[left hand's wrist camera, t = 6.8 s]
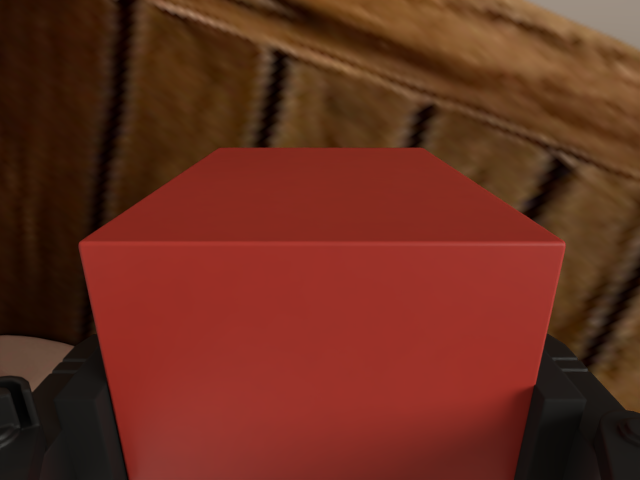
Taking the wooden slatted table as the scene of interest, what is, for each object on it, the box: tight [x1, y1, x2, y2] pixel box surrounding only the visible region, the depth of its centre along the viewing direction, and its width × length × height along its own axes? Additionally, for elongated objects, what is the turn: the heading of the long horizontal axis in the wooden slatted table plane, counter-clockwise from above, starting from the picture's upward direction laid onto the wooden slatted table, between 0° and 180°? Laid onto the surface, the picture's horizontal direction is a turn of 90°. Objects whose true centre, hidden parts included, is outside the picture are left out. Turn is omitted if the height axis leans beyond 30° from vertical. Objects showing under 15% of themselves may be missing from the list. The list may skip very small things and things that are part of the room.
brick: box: [78, 148, 566, 480], centre depth 13 cm, size 8×8×10 cm
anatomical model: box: [0, 335, 74, 392], centre depth 29 cm, size 13×4×12 cm
